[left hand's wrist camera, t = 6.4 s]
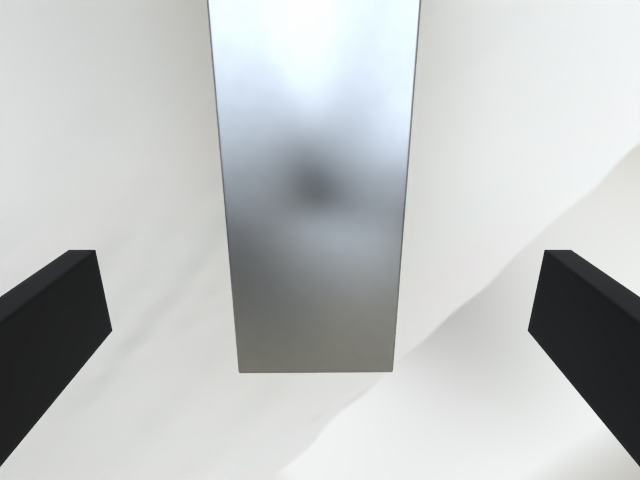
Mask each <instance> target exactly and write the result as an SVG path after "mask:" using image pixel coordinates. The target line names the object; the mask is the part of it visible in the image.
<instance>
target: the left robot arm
mask: <svg viewBox="0 0 640 480" xmlns="http://www.w3.org/2000/svg"><path fill="white" fill-rule="evenodd" d="M111 332H112V327H111V322H110V318H109V313H108V308H107V303H106V299H105V294H104V289H103V284H102V280H101V275H100V270H99V265H98V261H97V256H96V251H95V250H68V251H67V252H65V253H64V254H62V255H61V256H60V257H58V258H57V259H55V260H54V261H52V262H51V263H49V264H48V265H46V266H45V267H43V268H42V269H41V270H39V271H38V272H36V273H35V274H33V275H32V276H30V277H29V278H27V279H26V280H24V281H23V282H22V283H20V284H19V285H17V286H16V287H14V288H13V289H11V290H10V291H8V292H7V293H5V294H4V295H3V296H1V297H0V466H1V465H2V464H3V463H4V462H5V460H6V459H7V458H8V457H9V455H10V454H11V453H12V452H13V451H14V449H15V448H16V447H17V446H18V445H19V443H20V442H21V441H22V440H23V438H24V437H25V436H26V435H27V434H28V432H29V431H30V430H31V429H32V427H33V426H34V425H35V424H36V423H37V421H38V420H39V419H40V418H41V417H42V415H43V414H44V413H45V412H46V410H47V409H48V408H49V407H50V406H51V404H52V403H53V402H54V401H55V400H56V398H57V397H58V396H59V395H60V393H61V392H62V391H63V390H64V389H65V387H66V386H67V385H68V384H69V383H70V381H71V380H72V379H73V378H74V376H75V375H76V374H77V373H78V372H79V370H80V369H81V368H82V367H83V366H84V364H85V363H86V362H87V361H88V359H89V358H90V357H91V356H92V355H93V353H94V352H95V351H96V350H97V349H98V347H99V346H100V345H101V344H102V342H103V341H104V340H105V339H106V338H107V336H108V335H109V334H110V333H111ZM528 332H529V333H530V334H531V335H532V336H533V338H534V339H535V340H536V341H537V342H538V344H539V345H540V346H541V347H542V349H543V350H544V351H545V352H546V353H547V355H548V356H549V357H550V358H551V359H552V361H553V362H554V363H555V364H556V366H557V367H558V368H559V369H560V370H561V372H562V373H563V374H564V375H565V376H566V378H567V379H568V380H569V381H570V383H571V384H572V385H573V386H574V387H575V389H576V390H577V391H578V392H579V393H580V395H581V396H582V397H583V398H584V399H585V401H586V402H587V403H588V404H589V406H590V407H591V408H592V409H593V410H594V412H595V413H596V414H597V415H598V417H599V418H600V419H601V420H602V421H603V423H604V424H605V425H606V426H607V427H608V429H609V430H610V431H611V432H612V434H613V435H614V436H615V437H616V438H617V440H618V441H619V442H620V443H621V445H622V446H623V447H624V448H625V449H626V451H627V452H628V453H629V454H630V455H631V457H632V458H633V459H634V460H635V462H636V463H637V464H638V465H639V466H640V297H639V296H637V295H636V294H635V293H633V292H632V291H630V290H629V289H627V288H626V287H624V286H623V285H621V284H620V283H618V282H617V281H616V280H614V279H613V278H611V277H610V276H608V275H607V274H605V273H604V272H602V271H601V270H599V269H598V268H597V267H595V266H594V265H592V264H591V263H589V262H588V261H586V260H585V259H583V258H582V257H580V256H579V255H578V254H576V253H574V252H573V251H572V250H545V251H544V256H543V261H542V265H541V270H540V275H539V280H538V284H537V289H536V294H535V299H534V303H533V308H532V313H531V318H530V322H529V327H528Z"/></svg>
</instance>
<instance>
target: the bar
mask: <svg viewBox="0 0 640 480" xmlns="http://www.w3.org/2000/svg"><path fill="white" fill-rule="evenodd" d="M207 8H208V20H209V31H210V43H211V55H212V66H213V78H214V90H215V101H216V113H217V124H218V136H219V148H220V159H221V171H222V182H223V194H224V206H225V217H226V229H227V240H228V252H229V264H230V275H231V287H232V299H233V310H234V322H235V333H236V345H237V357H238V368H239V373H317V372H392V371H393V361H394V348H395V335H396V322H397V309H398V296H399V282H400V269H401V256H402V243H403V230H404V217H405V204H406V191H407V178H408V165H409V152H410V139H411V126H412V113H413V100H414V87H415V74H416V61H417V48H418V35H419V22H420V9H421V0H207Z"/></svg>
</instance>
